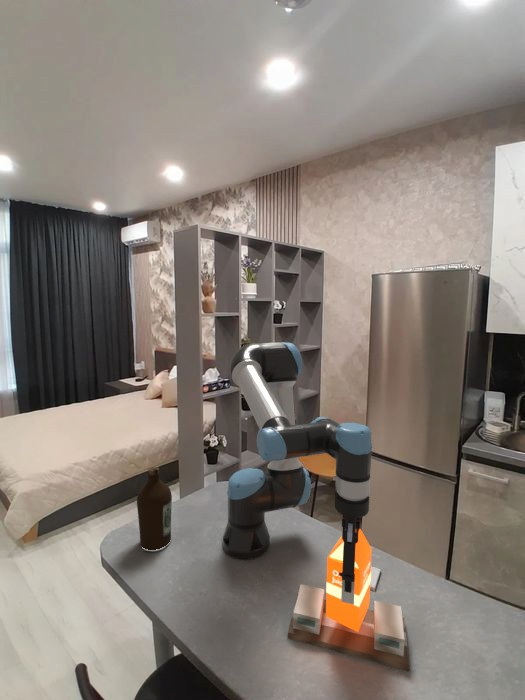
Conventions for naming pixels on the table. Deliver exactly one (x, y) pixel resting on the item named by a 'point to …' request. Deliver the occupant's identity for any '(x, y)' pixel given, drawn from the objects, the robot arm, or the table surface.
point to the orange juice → (349, 612)
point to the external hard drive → (374, 577)
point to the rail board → (351, 630)
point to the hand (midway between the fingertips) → (348, 584)
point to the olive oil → (154, 512)
